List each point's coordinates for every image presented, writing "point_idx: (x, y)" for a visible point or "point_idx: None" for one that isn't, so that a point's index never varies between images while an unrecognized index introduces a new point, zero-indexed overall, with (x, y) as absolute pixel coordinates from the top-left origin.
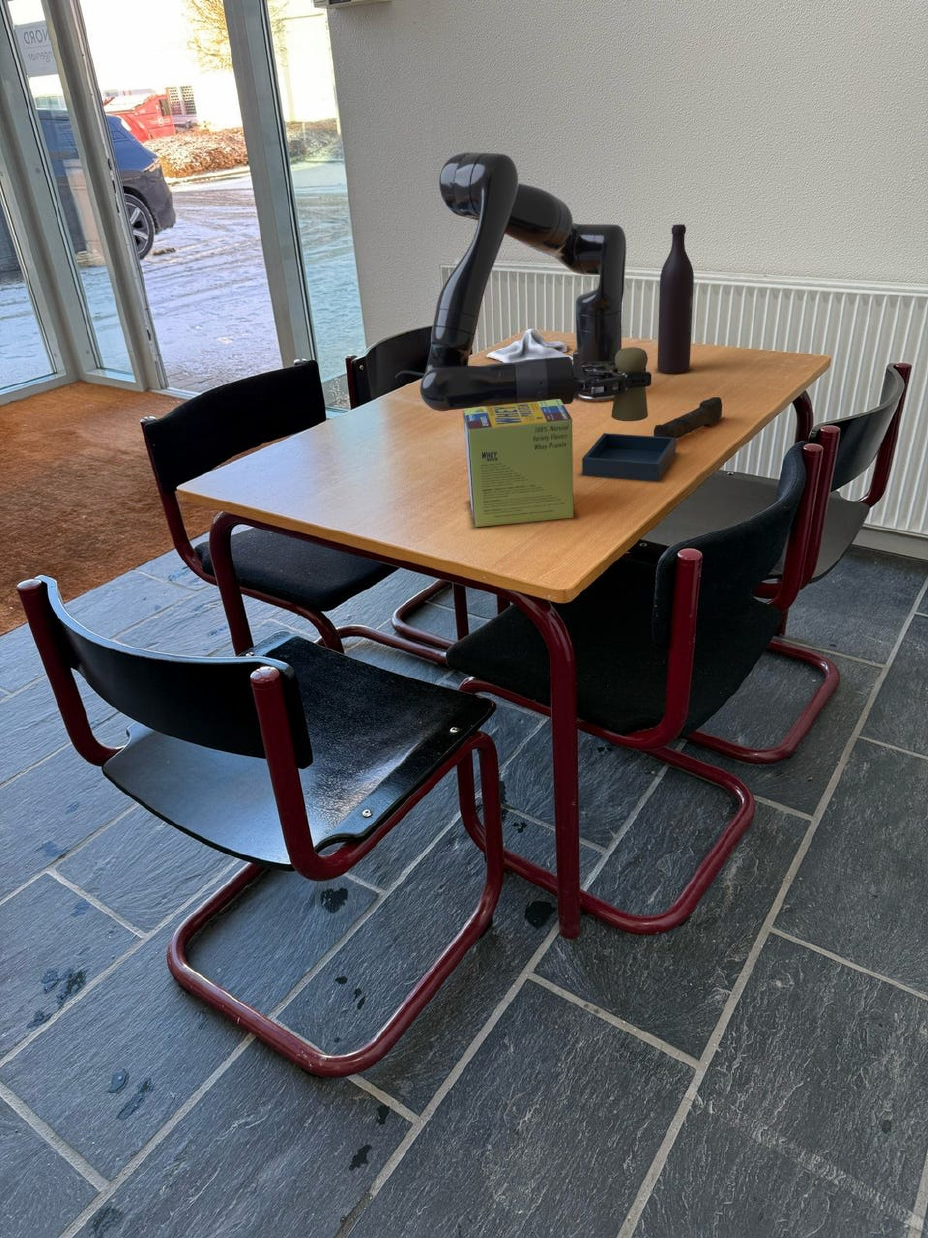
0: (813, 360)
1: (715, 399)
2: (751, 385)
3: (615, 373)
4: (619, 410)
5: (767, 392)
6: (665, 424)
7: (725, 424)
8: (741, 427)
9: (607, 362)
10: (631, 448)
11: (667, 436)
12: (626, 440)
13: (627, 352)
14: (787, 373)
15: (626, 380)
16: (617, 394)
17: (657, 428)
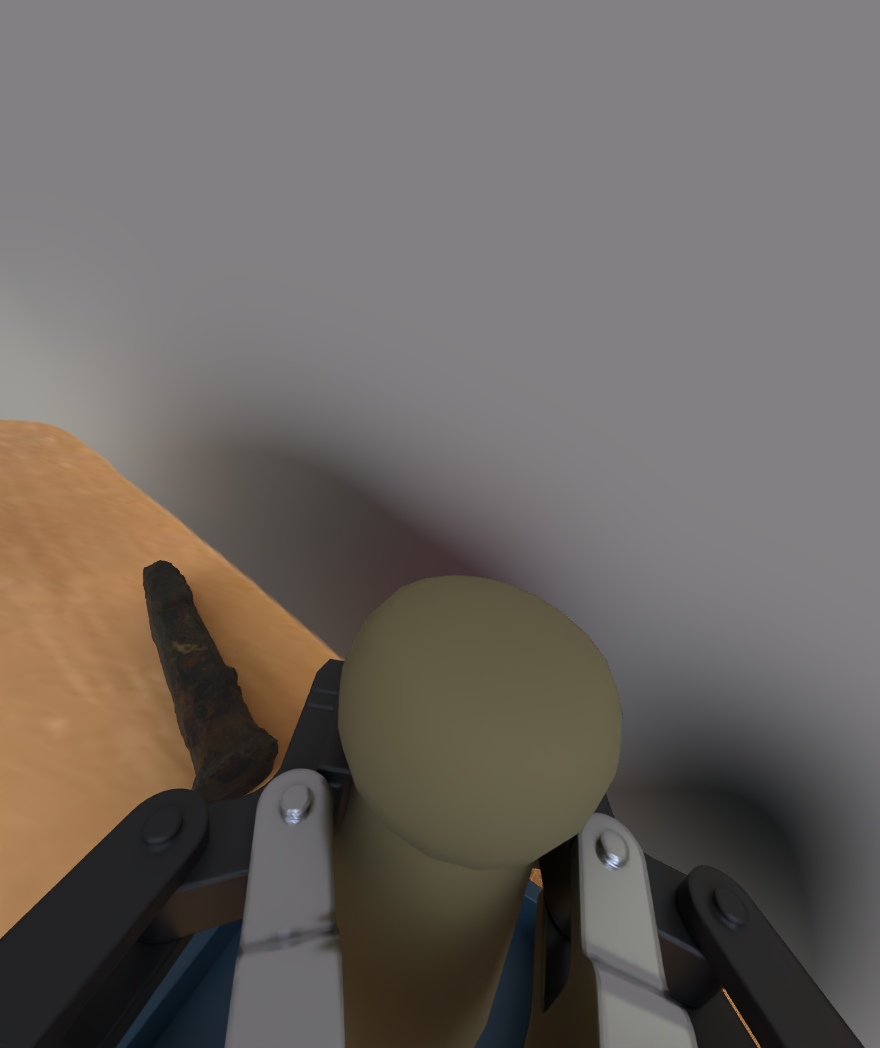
0: (42, 427)
1: (170, 571)
2: (35, 497)
3: (604, 943)
4: (478, 1020)
5: (104, 502)
6: (217, 739)
7: (204, 608)
8: (246, 597)
9: (101, 897)
10: (220, 953)
11: (263, 766)
12: (198, 967)
13: (588, 684)
14: (51, 457)
15: (662, 871)
16: (469, 986)
17: (216, 777)
